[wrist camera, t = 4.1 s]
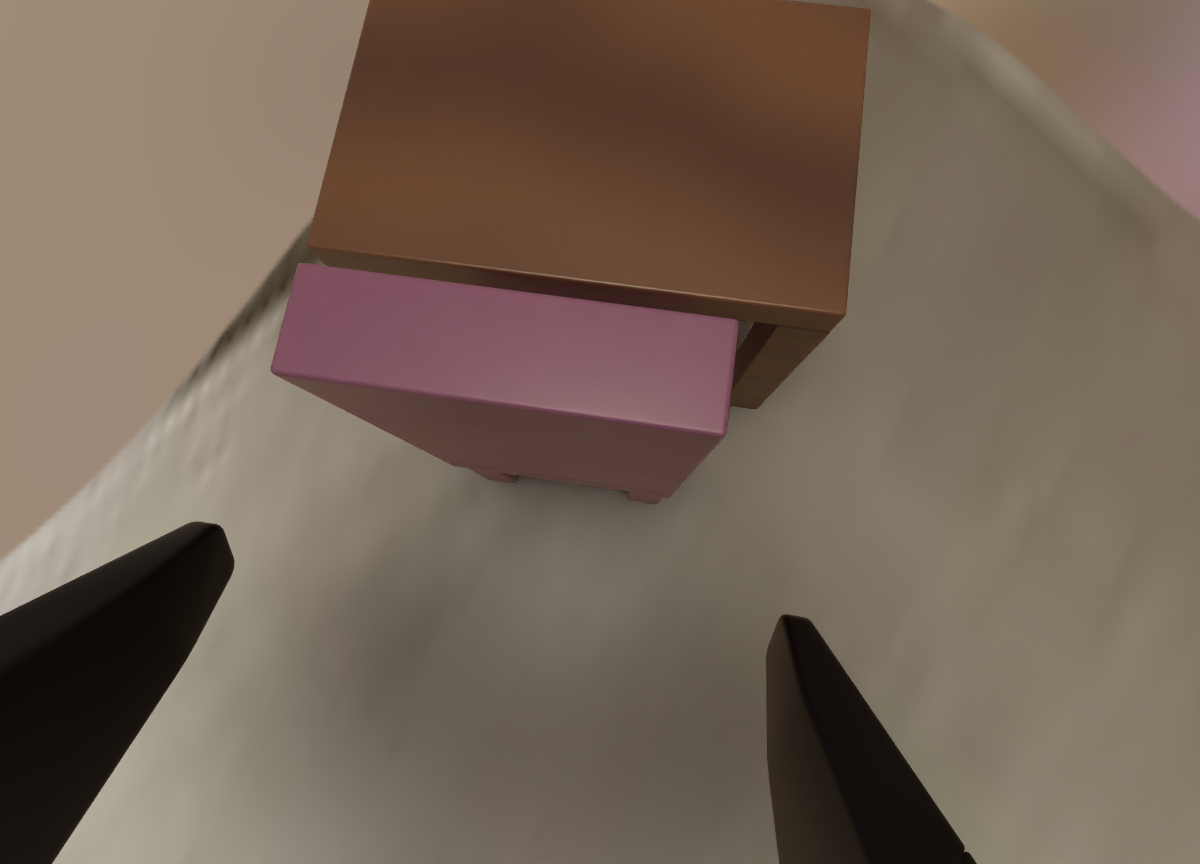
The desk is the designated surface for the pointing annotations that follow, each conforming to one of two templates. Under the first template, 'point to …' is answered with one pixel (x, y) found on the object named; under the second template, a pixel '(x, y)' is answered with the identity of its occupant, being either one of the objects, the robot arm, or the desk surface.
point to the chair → (515, 376)
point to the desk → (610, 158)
